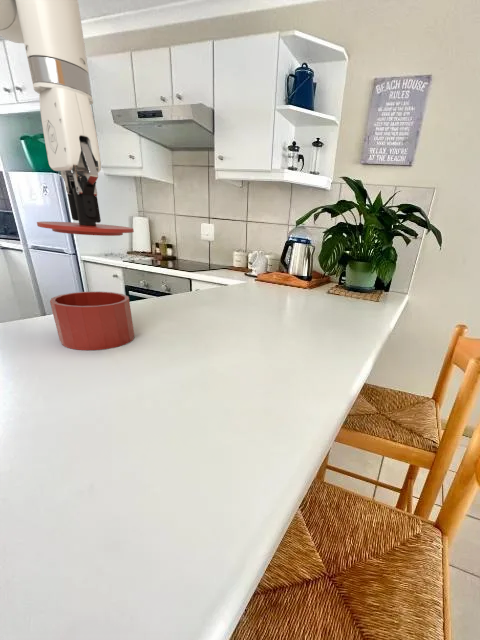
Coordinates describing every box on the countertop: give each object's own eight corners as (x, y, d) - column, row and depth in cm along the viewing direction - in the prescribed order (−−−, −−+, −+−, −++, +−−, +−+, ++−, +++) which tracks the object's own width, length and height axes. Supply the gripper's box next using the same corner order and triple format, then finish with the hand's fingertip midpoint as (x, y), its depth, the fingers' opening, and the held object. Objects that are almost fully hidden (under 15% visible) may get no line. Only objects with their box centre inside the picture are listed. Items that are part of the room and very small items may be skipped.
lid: (27, 227, 56) (16, 182, 53) (113, 231, 66) (108, 193, 63) (55, 235, 48) (43, 182, 45) (148, 237, 58) (144, 195, 55)
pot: (51, 336, 68) (40, 295, 64) (117, 325, 77) (111, 289, 73) (75, 355, 60) (64, 310, 56) (146, 341, 69) (140, 301, 66)
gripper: (16, 84, 50) (46, 217, 58) (50, 62, 41) (80, 223, 49) (71, 100, 55) (91, 219, 64) (111, 84, 46) (129, 226, 54)
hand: (86, 220), depth 56 cm, fingers closed on lid, 2 cm apart
